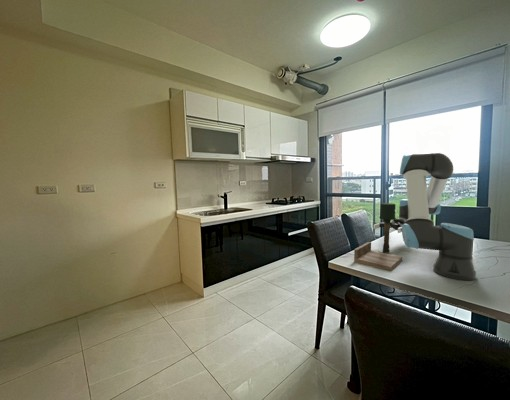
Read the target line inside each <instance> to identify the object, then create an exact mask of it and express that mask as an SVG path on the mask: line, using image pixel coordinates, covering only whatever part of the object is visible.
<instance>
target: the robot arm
mask: <svg viewBox="0 0 510 400" xmlns="http://www.w3.org/2000/svg"><path fill="white" fill-rule="evenodd" d="M399 168H400V169H399V174H400V175H401V176H402V177H403V179H404V180H406V191H407V192H406V193H407V194H406V195H407V198H403V199H400V200H399V207H398V208H399V210H398V218H396V219H395V220H391V221H390V229H393V230H395V231H397V234H402V235H401V236H402V240H403V242H404V243H403V244H404V245H405V246H406V247H408V248H411V249H416V250H430V251H438V256H437V258H436V260H435V262H434V263H433V266H432V267H433V268H432V269H433V272H434V273H436V274H438V275H439V276H443V277H446V278H449V279H453V280H460V281H461V280H462V281H474V280H475V279H477V272H476V270H475V267H474V264H473V261H472V260H473V247H474V241H475V238H474V230H473V229H472V228H471V227H467V226H463V225H460V224H454V223H449V222H441V223H440V224H439V225H434V221H433V219H432V218H430V215H433V216H434V215H439V214H441V209H442V205H441V203H440V200H441V197H442V195H443V193H444V189H445V188H446V185H447V182H448V179H450V178H451V177H452V175H453V173H454V165H453V161H452V160H451V159H450V157H448V156H447V154H446V155H445V154H444V153H441V152H434V151H433V152H423V153H412V152H411V153H406V154H403V156H402V159H401V162H400V167H399ZM429 176H430V180H429V183H428V186H427V178H428V177H429ZM379 228H384V221H381V222H374V223H373V230H376V229H379Z"/></svg>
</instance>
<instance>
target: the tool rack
mask: <svg viewBox="0 0 510 400" xmlns="http://www.w3.org/2000/svg"><path fill="white" fill-rule="evenodd" d="M353 251H354V252H353V253H354V256H353V262H354V263H357V264H358V263H359V264H361V265H367V266H370V267H375V268H378V269H381V270H385V271H391V272H392V271H393V270H394V269H395V268H396V267H397V266H398V265H399V264H400V263H401V262H403V256H400V255H396V254H390V253H384V252H380V251H376V250H372V242H371V241H367V242H366V243H365V242H364V244H362V245H361V244H360V245H359V246H357V247H356V248H354V250H353Z"/></svg>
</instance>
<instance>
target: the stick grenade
mask: <svg viewBox="0 0 510 400" xmlns="http://www.w3.org/2000/svg"><path fill="white" fill-rule="evenodd" d="M396 206H397V205H396V203H392V202H382V203H380V207H379V208H380V209H379V210H380V212H379V219H382V220H383V222H384V227H383V230H384V232H383V244H382V253H386V254H390V229H391V228H390V222H392V221H393V220H395V219H397V218H396Z"/></svg>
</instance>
